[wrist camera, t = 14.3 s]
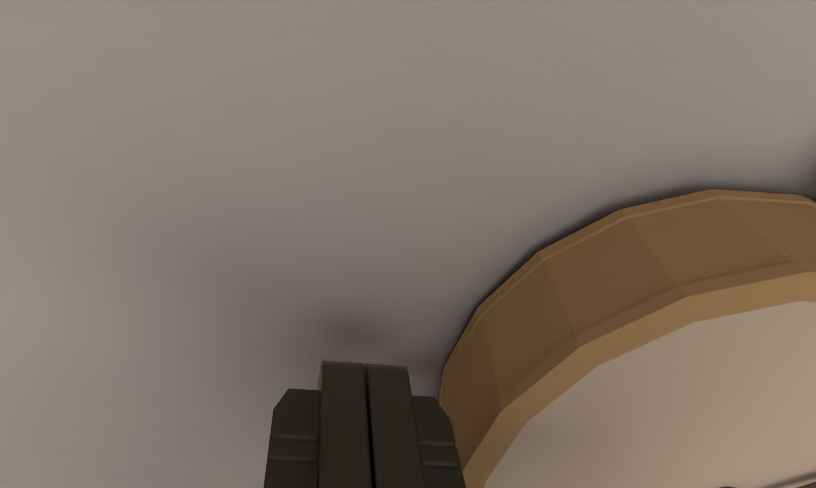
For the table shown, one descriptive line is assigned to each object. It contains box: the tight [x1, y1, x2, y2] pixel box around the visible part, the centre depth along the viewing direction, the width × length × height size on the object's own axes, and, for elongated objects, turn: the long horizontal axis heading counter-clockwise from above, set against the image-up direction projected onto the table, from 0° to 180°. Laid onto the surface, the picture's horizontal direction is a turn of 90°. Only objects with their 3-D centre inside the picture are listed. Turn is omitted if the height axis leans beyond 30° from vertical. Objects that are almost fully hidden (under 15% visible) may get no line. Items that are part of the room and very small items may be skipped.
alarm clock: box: [438, 189, 816, 488], centre depth 13 cm, size 11×5×15 cm
